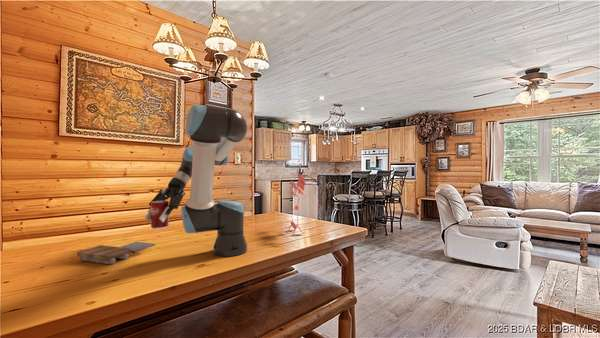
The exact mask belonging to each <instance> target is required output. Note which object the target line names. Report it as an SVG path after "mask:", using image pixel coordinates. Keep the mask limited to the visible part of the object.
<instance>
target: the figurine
mask: <svg viewBox="0 0 600 338" xmlns="http://www.w3.org/2000/svg"><path fill="white" fill-rule="evenodd" d="M297 177H298V178H297V179H298V181H297V182H296V183H295V182H294V181H293V180H291V181H290V188H289V194H292V196H293V197H294V198H295V197H297V198H298V201H297V204H296V205H295V206H294V208H293V209H292V210H290V215H291V217H293V212H292V211H294V210H296V211H299V210H300V206H299V203H300V196H299V195H304V196H305V197H307V194H306V193H305V191H304V190H305V186H306V185H307V182H306V181H305V176H304V174H303V173H302V174H301V173H299V174H298V176H297ZM292 188H293V189H294V190H293V191H292V192H291V190H292ZM297 192H298V195H297ZM296 214H297V223H295V222H294V220H293V218H291V221H290V225H289V227H288V230H287V231H288V232H289V231H290V229H291V228H293V232H292V234H293V235H294V234H295V232H296V230H297V228H298V230H299V231H300V232H301V234H302V235H304V232H303V231H302V229H301V227H300V226H299V213H296Z"/></svg>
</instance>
